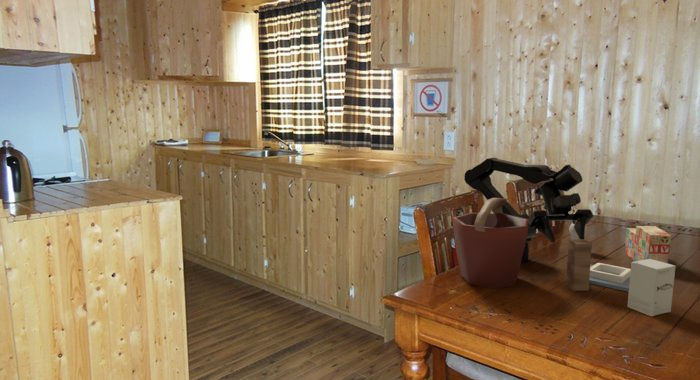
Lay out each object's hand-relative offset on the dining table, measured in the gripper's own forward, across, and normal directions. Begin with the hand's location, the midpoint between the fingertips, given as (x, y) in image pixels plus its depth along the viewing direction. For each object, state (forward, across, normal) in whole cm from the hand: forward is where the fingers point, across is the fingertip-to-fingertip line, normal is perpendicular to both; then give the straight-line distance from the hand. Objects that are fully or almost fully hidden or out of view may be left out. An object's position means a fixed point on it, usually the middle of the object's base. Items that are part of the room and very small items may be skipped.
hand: (568, 241), depth 157 cm
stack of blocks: (-2, +36, +19) cm, 41 cm away
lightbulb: (-12, +20, +30) cm, 38 cm away
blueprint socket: (+9, +13, +8) cm, 18 cm away
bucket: (+6, -22, +11) cm, 26 cm away
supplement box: (+26, +10, -8) cm, 29 cm away
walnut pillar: (+14, 0, +4) cm, 14 cm away
